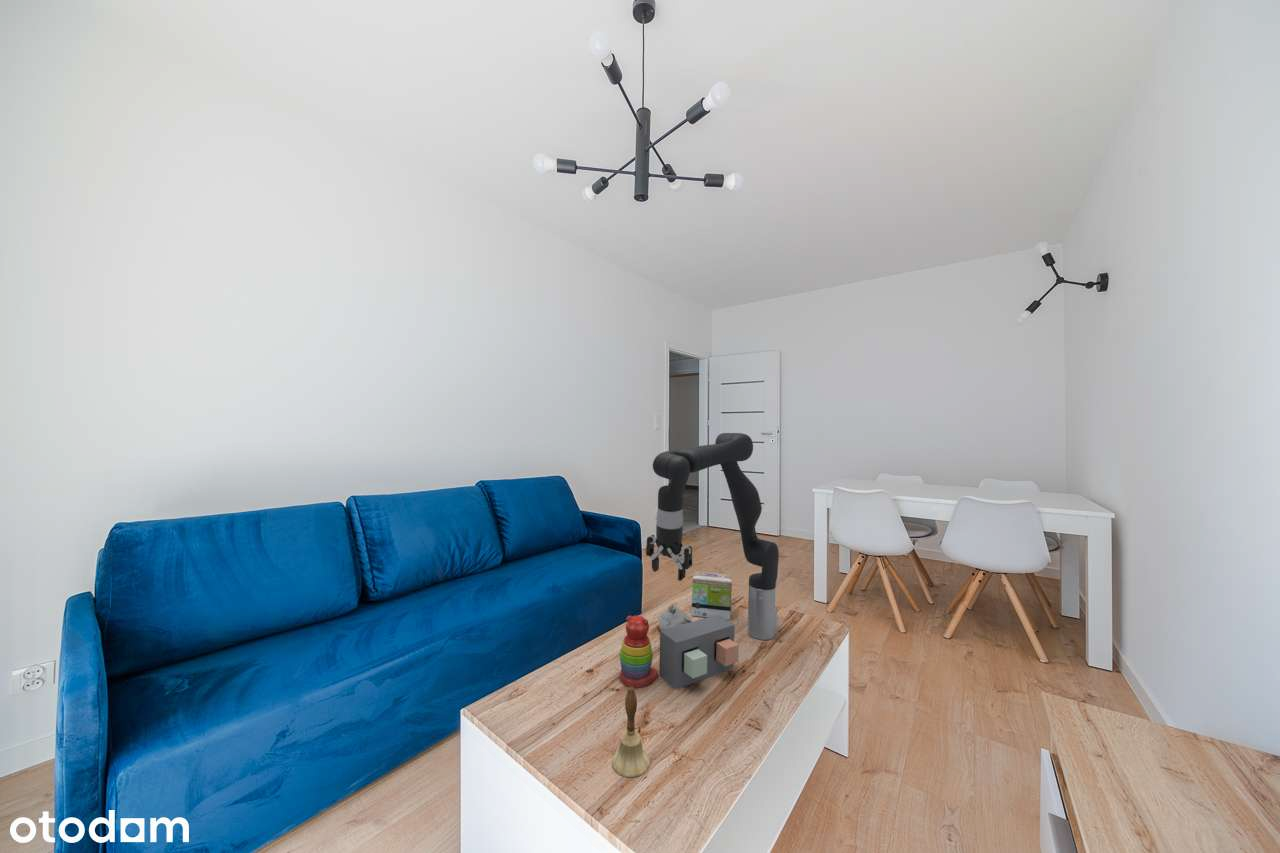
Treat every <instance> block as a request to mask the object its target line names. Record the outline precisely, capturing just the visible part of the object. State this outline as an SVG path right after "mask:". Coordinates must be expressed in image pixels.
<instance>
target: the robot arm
mask: <svg viewBox="0 0 1280 853" xmlns="http://www.w3.org/2000/svg"><path fill="white" fill-rule="evenodd" d="M753 451H754V443H753V440H752V438H751V437H750V435H748V434H746V433H742V432H722V433H720V434H718V435H717V436H716V438H715V441H714V444H704V445H698V446H694V447H690V448H687V449H682V450H680V449H679V450H678V449H677V450H669V451H667V450H666V451H663V452H661V453H659V454H657V455H656V456H655V458H654V459H653V462H652V470H653V472H654V473H655V474H656V475H657V476H659V477H660V478H664V479H667V480H670V483H669V484H668V485H663V486H660V487H659V489H658V493H657V509H656V510H657V511H656V524H655V525H656V526H655V528H656V529H655V534H651V535H649V536H647V538H646V547H645V549H646V550H645V555H646V556H647V557H650V559H651V569H652V572H655V573H656V572H657V571H659V569H660V558H659V556H660V555H662V556H663V557H667V558H669V559H672V560H673V562H674V563H676V565H677V567H678V569H677V581H679V582H681V581H683V580H684V578H686V572H687V571H686V570H689V569H690V568H691V567H692V566H693V547H692V545H687V546H684V545H683V543H682V540H683V530H684V528H683V527H684V512H683V511H684V510H683V504H684V501H683V500H684V493H685V490H686V486H687V483H688V479H689V476H690V474H693V473H697V472H699V471H702V470H706V469H708V468H711V467H714V466H717V465H720V467H721V469H722V471H723V475H724V478H725V481H726V483H727V486H728V489H729V493H730V497H731V503H732V505H733V510H734V511H735V515H736V519H737V522H738V523H737V524H738V528H739V532H740V537H741V538H740V539H741V543H742V549H743V554H744V557H745V559H746V562H748V563H749V564H751V565H753V566H757V567H761V572H757V573H752V574H751V575H749V577H748V605H747V607H748V608H747V633H748V635H749V636H750V637H752V638H754V639H757V640H761V641H762V640H763V641H768V640H771V639H774V638H775V636H776V635H777V632H778V631H777V630H778V629H777V628H778V625H777V624H778V608H777V606H776V591H777V590H776V588H777V586H776V584H777V580H778V573H779V572H778V570H779V560H780V559H779V558H780V554H779V553H780V551H779V547H778V545H777V544H776V543H775V542H773V541H770V540H765V539H761V538H759V537H758V536H757V532H756V531H757V530H756V525H757V523H758V521H759V519H760V516H761V514H762V510H763V506H762V502H761V498H760V495H759V492H758V488H757V487H756V486H755V484H754V483H753V482H752V481H751V480H750V479H749V477H748V476H746V474H745V473H744V472H743V471H742V468H741V467H740V465H739V463H738V462H745V461H747V460H749V459H750V458H751V456H752V454H753ZM655 544H656V547H657V549H656V550H655Z"/></svg>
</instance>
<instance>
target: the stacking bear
mask: <svg viewBox="0 0 1280 853" xmlns="http://www.w3.org/2000/svg"><path fill="white" fill-rule="evenodd" d="M649 630H650V624H649V621H648V619H647V618H645V617H644V616H641V615H633V616H632V615H628V616H627V617H626V624H625V632H626V635H625V636H624V638H623V641H622V644H621V648H620V653H619V662H620V668H621V669H620V673H619V679H620V682H621V683H622V684H623V685H625V686H627V687H628V688H629V687H634V688H641V687H642V688H643V687H645V686H648V685H651V683H653V682H655V680H657V678H658V676H659V672H658V670H657V669H656V668H654V667H652V663H653V648H652V644H651V641H650V637H649V636H648V633H649Z"/></svg>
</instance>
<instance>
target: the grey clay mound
mask: <svg viewBox="0 0 1280 853" xmlns="http://www.w3.org/2000/svg"><path fill="white" fill-rule="evenodd" d="M657 621H658V628H659V630H660V631H661V630H665V629H668V628H672V627H676V626H679V625H683V624H686V623H690V622H693V621H692V619H691V617H690V616H689V615H688V614H687V613H685V612H684V611H683V610H682V609H680V608H678V607H677V606H676V605H675V604H671V605H669V606H668V608H667V609H666V610H664V611H663V612H662V613H661V614H659V615H658V616H657Z"/></svg>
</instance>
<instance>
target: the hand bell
mask: <svg viewBox="0 0 1280 853" xmlns="http://www.w3.org/2000/svg"><path fill="white" fill-rule="evenodd" d="M624 706H625V713H626V716H627V722H626V723H627V724H626V731H625V732H624V733H622V735H621V737H620V741H619V747H618V749H617V750H616V751H615V752H614V753H613V756H612V758H611V766H612V769H613V771H614V772H615V773H617V774H618V775H620V776H622V777H625V778H636V777H640V776H642V775H643V774H645V773H646V772H647V771H648V770H649V768H650V765H651V760H650V756H649V755H648V753H647V752H646V751H645V749H644V748H643V742H642V737H641V734H640V733H639V732H637V731H636V730H635V729H636V727H635V724H636V722H635V716H636V713H637V707H638V698H637V694H636V692H635V687H629V686H628V689H627V692H626V694H625V700H624Z"/></svg>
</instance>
